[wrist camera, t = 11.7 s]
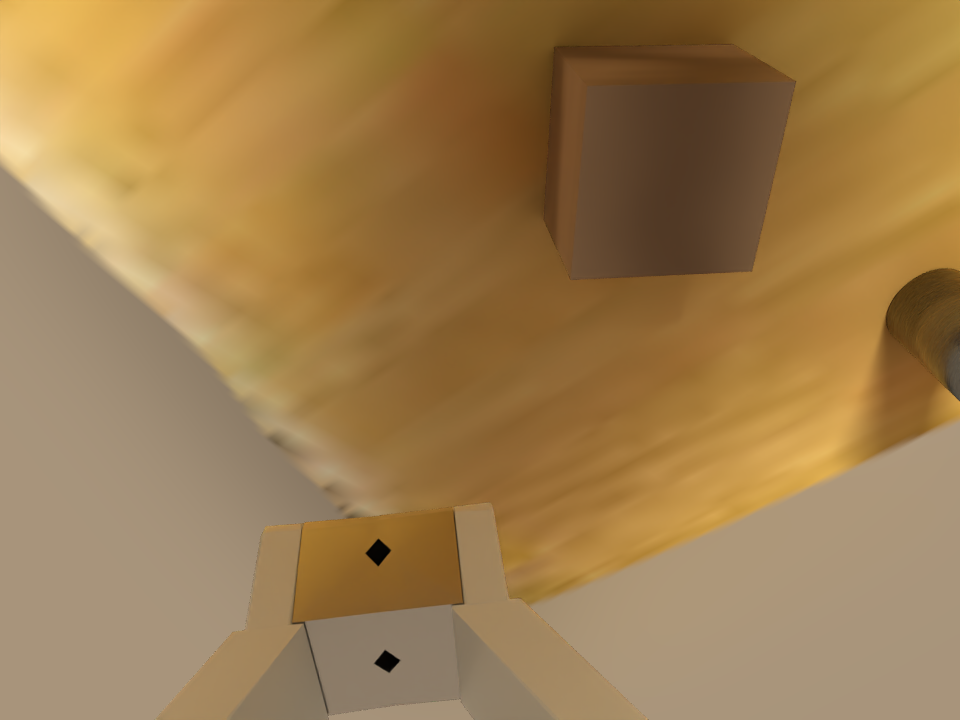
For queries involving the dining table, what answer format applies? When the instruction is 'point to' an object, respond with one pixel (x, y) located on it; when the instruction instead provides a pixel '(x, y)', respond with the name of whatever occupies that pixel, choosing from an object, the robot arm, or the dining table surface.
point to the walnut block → (661, 158)
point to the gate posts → (931, 324)
